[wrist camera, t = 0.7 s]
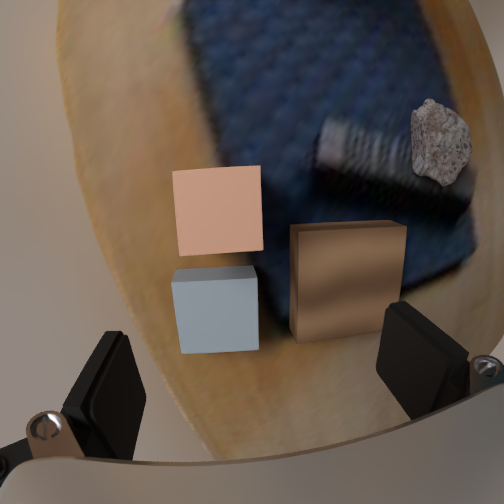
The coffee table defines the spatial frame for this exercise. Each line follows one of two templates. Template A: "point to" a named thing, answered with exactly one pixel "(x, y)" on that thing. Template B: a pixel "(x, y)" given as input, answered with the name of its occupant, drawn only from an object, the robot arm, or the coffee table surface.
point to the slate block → (216, 309)
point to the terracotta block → (218, 210)
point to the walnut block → (343, 277)
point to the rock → (439, 142)
